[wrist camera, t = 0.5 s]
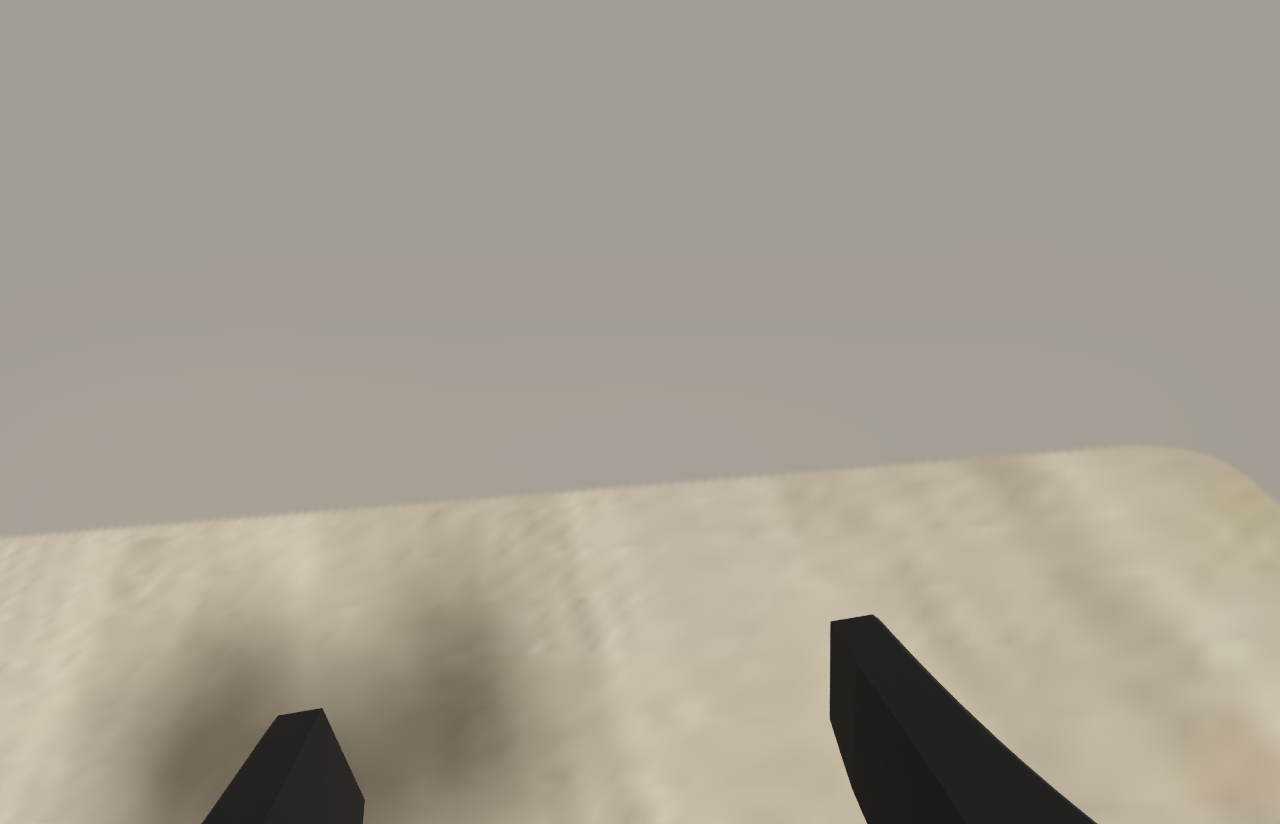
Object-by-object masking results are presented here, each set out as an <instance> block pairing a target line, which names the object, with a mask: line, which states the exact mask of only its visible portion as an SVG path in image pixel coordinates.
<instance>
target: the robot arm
mask: <svg viewBox="0 0 1280 824" xmlns="http://www.w3.org/2000/svg"><path fill="white" fill-rule="evenodd" d="M830 721H831V724H832V727H833V730H834V734H835V737H836V740H837V743H838V746H839V750H840V753H841V756H842V759H843V762H844V765H845V768H846V771H847V774H848V777H849V780H850V783H851V786H852V789H853V792H854V794H855V796H856V799H857V801H858V803H859V806H860V808H861V810H862V813H863V815H864V817H865V819H866V822H867V824H1097V823H1096V822H1095V821H1093V820H1092V819H1091V818H1090V817H1088V816H1087V815H1086V814H1085V813H1083V812H1082V811H1081V810H1080V809H1078V808H1077V807H1076V806H1075V805H1073V804H1072V803H1071V802H1070V801H1069V800H1067V799H1066V798H1065V797H1064V796H1062V795H1061V794H1060V793H1059V792H1058V791H1056V790H1055V789H1054V788H1053V787H1052V786H1051V785H1049V784H1048V783H1047V782H1046V781H1045V780H1044V779H1043V778H1041V777H1040V776H1039V775H1038V774H1037V773H1036V772H1034V771H1033V770H1032V769H1031V768H1030V767H1029V766H1027V765H1026V764H1025V763H1024V762H1023V761H1022V760H1021V759H1019V758H1018V757H1017V756H1016V755H1015V754H1014V753H1013V752H1012V751H1010V750H1009V749H1008V748H1007V747H1006V746H1005V745H1004V744H1003V743H1002V742H1000V741H999V740H998V739H997V738H996V737H995V736H994V735H993V734H992V733H991V732H990V731H989V730H988V729H987V728H986V727H985V726H983V725H982V724H981V723H980V722H979V721H978V720H977V719H976V718H975V717H974V716H973V715H972V714H971V713H970V712H969V711H968V710H966V709H965V708H964V707H963V706H962V705H961V704H960V703H959V702H958V701H957V700H956V699H955V698H954V697H953V696H952V695H951V694H950V693H949V692H948V691H947V690H946V689H945V688H944V687H943V686H942V685H941V684H940V683H939V682H938V681H937V680H936V679H935V678H934V677H933V676H932V675H931V674H930V673H929V672H928V671H927V670H926V669H925V668H924V667H923V666H922V665H921V664H920V663H919V661H918V660H917V659H916V658H915V657H914V656H913V655H912V654H911V653H910V652H909V651H908V650H907V649H906V648H905V647H904V646H903V645H902V644H901V642H900V641H899V640H898V639H897V638H896V637H895V636H894V635H893V634H892V633H891V632H890V630H889V629H888V628H887V627H886V626H885V625H884V624H883V623H882V622H881V621H880V619H878V618H877V617H875V616H874V615H866V616H861V617H855V618H849V619H843V620H837V621H831V630H830ZM364 802H365V800H364V798H363V795H362V793H361V791H360V789H359V787H358V785H357V782H356V780H355V778H354V776H353V774H352V772H351V769H350V767H349V765H348V763H347V761H346V759H345V756H344V754H343V752H342V750H341V748H340V746H339V743H338V741H337V739H336V737H335V735H334V732H333V730H332V728H331V726H330V724H329V722H328V719H327V717H326V715H325V713H324V711H323V709H322V708H320V709H314V710H309V711H303V712H297V713H291V714H285V715H279V716H278V717H277V718H276V719H275V720H274V722H273V723H272V724H271V726H270V727H269V729H268V730H267V731H266V733H265V734H264V736H263V737H262V738H261V740H260V741H259V743H258V744H257V746H256V747H255V748H254V750H253V751H252V753H251V754H250V756H249V757H248V758H247V760H246V761H245V763H244V764H243V766H242V767H241V769H240V770H239V771H238V773H237V774H236V776H235V777H234V779H233V780H232V781H231V783H230V784H229V786H228V787H227V789H226V790H225V791H224V793H223V794H222V796H221V797H220V799H219V800H218V801H217V803H216V804H215V806H214V807H213V808H212V810H211V811H210V813H209V814H208V816H207V817H206V818H205V820H204V821H203V823H202V824H363V813H364Z"/></svg>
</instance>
